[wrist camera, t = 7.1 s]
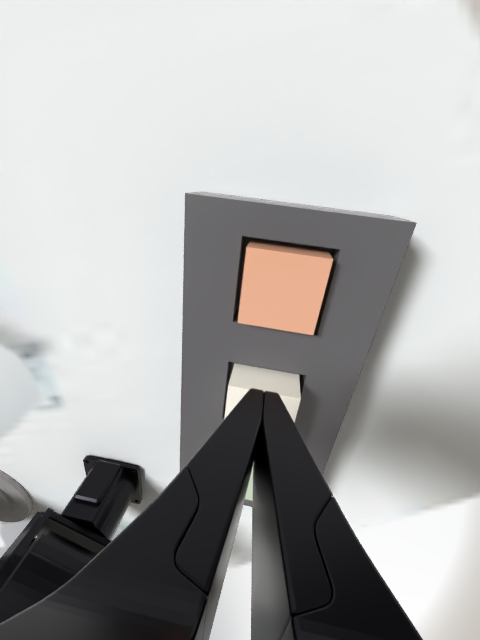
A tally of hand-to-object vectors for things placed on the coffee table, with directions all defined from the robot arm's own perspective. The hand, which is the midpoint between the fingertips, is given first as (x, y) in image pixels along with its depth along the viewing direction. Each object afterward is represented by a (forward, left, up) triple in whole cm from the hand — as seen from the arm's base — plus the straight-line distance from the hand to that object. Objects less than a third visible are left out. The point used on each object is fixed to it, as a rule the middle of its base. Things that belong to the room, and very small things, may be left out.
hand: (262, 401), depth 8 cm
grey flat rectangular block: (-8, 0, -13) cm, 15 cm away
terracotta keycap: (0, 0, -11) cm, 11 cm away
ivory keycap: (-8, 0, -10) cm, 13 cm away
